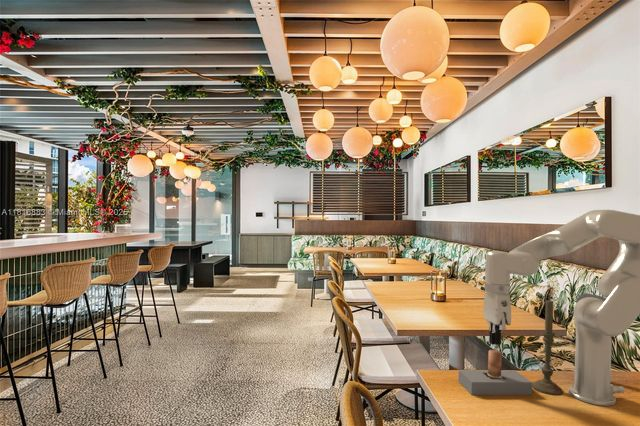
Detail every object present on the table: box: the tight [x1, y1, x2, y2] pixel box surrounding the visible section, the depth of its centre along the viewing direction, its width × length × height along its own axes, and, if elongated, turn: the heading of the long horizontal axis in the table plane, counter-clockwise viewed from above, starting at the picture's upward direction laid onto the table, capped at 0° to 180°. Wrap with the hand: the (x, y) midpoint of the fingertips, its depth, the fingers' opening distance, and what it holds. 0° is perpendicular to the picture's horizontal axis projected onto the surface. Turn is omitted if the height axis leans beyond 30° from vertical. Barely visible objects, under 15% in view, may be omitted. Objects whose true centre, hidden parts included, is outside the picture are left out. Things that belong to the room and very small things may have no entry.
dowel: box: [487, 349, 503, 379], centre depth 133 cm, size 4×4×12 cm
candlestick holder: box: [532, 299, 563, 396], centre depth 134 cm, size 9×9×30 cm
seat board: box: [457, 369, 533, 396], centre depth 133 cm, size 20×10×4 cm, turn 94°
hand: (494, 343), depth 133 cm, fingers closed
